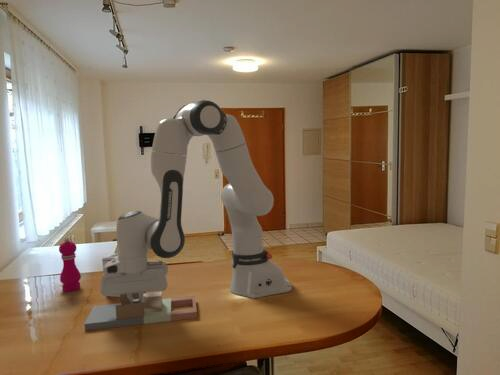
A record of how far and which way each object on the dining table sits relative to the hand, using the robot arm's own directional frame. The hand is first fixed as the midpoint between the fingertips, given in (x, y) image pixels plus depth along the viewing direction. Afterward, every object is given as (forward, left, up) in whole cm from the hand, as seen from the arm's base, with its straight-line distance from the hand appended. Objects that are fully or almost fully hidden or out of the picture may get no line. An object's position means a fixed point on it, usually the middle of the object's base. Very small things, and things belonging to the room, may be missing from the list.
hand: (136, 305), depth 127 cm
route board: (-3, 0, -3) cm, 4 cm away
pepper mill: (+27, -31, -4) cm, 41 cm away
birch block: (-5, 0, -1) cm, 5 cm away
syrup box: (+9, -21, -4) cm, 23 cm away
